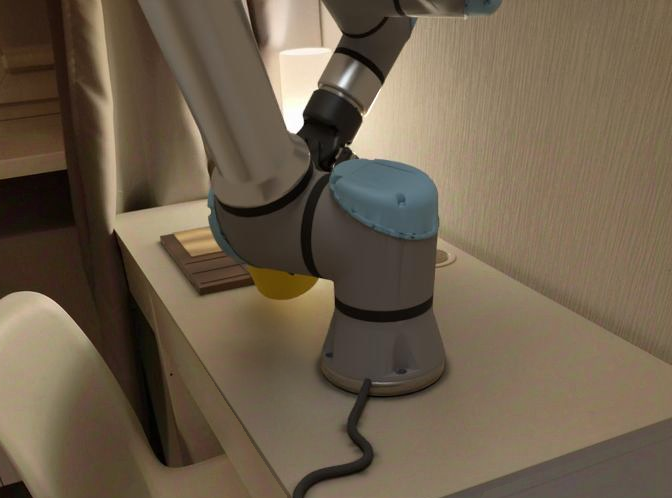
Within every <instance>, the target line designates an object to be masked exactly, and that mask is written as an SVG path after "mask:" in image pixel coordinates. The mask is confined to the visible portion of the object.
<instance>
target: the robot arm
mask: <svg viewBox="0 0 672 498" xmlns="http://www.w3.org/2000/svg"><path fill="white" fill-rule="evenodd" d="M320 1H321V3H322V4H323V5H324V7H325V8H326V10H327V12H328V13H329V14H330V15H329V16H331V18H332V20H333V21H334V22H335V24H336V26H337V28H338V29H339V31H340V32H341V34H342V35H341V37H340V39H339V41H338V43H337V45H336V47H335V48H334V51H333V53H332V54H331V56H330V58H329V60H328V62H327V64H326V66H325V67H324V70H323V71H322V73H321V75H320V76H319V79H318V80H317V84H316V86H317V89H315V90H313V92H312V93H311V96H310V97H309V100H308V101H307V103H306V105H305V107H304V109H303V111H302V120H303V125H302V126H301V127H300V129H299V130H298V131H296V133H294V132H291V131H290V130H289V129H288V127H287V125H286V122H285V119H284V116H283V113H282V111H281V108H280V104H279V102H278V99H277V96H276V94H275V90H274V88H273V85H272V83H271V82H272V81H271V79H270V77H269V73H268V71H267V68H266V65H265V63H264V59H263V57H262V54H261V51H260V48H259V46H258V43H257V40H256V37H255V34H254V30H253V29H252V25H251V22H250V19H249V16H248V14H247V11H246V9H245V5H244V3H243V0H137V2H138V5H139V6H140V8H141V11H142V13H143V15H144V17H145V19H146V22H147V23H148V25H149V27H150V30H151V31H152V34H153V36H154V38H155V40H156V42H157V44H158V47H159V49H160V50H161V53H162V55H163V58H164V59H165V61H166V64H167V65H168V68H169V70H170V72H171V74H172V76H173V78H174V81H175V83H176V84H177V87H178V89H179V91H180V93H181V95H182V97H183V100H184V101H185V104H186V105H187V108H188V110H189V112H190V114H191V116H192V118H193V120H194V122H195V123H194V124H195V125H196V127H197V129H198V131H199V134H200V135H201V137H202V140H203V142H204V144H205V147H206V148H207V150H208V152H209V154H210V156H211V158H212V159H211V160H213V161H212V162H213V163H214V165H215V166H214V168H213V170H212V174H211V177H210V187H209V190H208V193H207V203H206V204H207V205H206V207H207V208H209V209H210V214H209V215H208V216H207V220H208V226H210V229H211V232H212V235H213V237H214V239H215V241H216V243H217V244H218V246H219V247H220V248H221V250H222V251H223V252H224V253H225V254H226V255H228V256H229V257H230V258H232V259H234V260H236V261H238V262H242V263H245V264H248V265H249V266H253V267H255V268H260V269H263V268H266V269H272V270H277V271H283V272H287V273H289V274H290V275H292V276H294V274H299V275H305V276H311V277H316V278H319V279H321V280H327V281H331V282H333V300H334V307H333V313H332V315H331V319H330V321H329V326H328V328H327V332H326V335H325V338H324V341H323V346H322V349H321V353H320V354H321V355H320V356H321V370H322V373H323V375H324V376H325V378H326V379H327V380H328V381H329V382H330V383H331V384H333V385H335V386H336V387H338V388H340V389H342V390H346V391H347V392H351V393H354V394H358V395H357V397H356V400H355V402H354V404H353V407H352V409H351V410H350V412H349V415H348V416H347V417H348V418H347V421H346V422H347V423H346V425H347V426H346V428H347V431H348V435H349V436H350V437H351V439H352V440H353V442H355V443H356V444H357V445H358V446H359V447H360V448H361V449H362V451H363V455H362V456H361V457H360V458H359V459H356V460H354V461H351V462H346V463H343V464H336V465H332V466H331V465H330V466H326V467H323V468H319V469H316V470H313V471H311V472H309V473H307V474H306V475H305V476H303V477H302V478H301V480H300V481H299V482H298V483H297V484H296V486H295V487H294V489H293V492H292V498H303V497H304V493H305V491H306V490H307V489H308V487H309V486H310V485H312V484H313V483H314V482H316V481H319V480H321V479H325V478H328V477H329V478H330V477H334V476H339V475H345V474H350V473H353V472H356V471H360V470H361V469H364V468H365V467H366V466H368V465H369V464H370V462H371V461H372V460H373V457H374V447H373V446H372V444H371V443H370V442H369V441H368V440H367V439H366V438H365V437H364V436H363V435H362V434H361V433H360V432H359V430H358V428H357V421H358V419H359V416H360V414H361V412H362V410H363V408H364V406H365V403H366V400H367V397H368V396H373V397H392V396H400V395H405V394H410V393H415V392H417V391H420V390H423V389H425V388H427V387H429V386H431V385H432V384H434V383H436V381H437V380H438V379H440V377H442V375H443V373H444V370H445V360H446V350H445V349H446V348H445V345H444V343H443V338H442V336H441V332H440V328H439V326H438V325H439V324H438V321H437V319H436V314H435V311H434V294H435V293H434V292H435V280H436V279H435V278H436V265H437V249H438V237H439V229H440V225H441V223H440V221H441V220H440V215H439V190H438V186H437V184H436V183H435V182H434V179H432V178H431V177H430V175H429V174H427V173H426V172H425V171H423V170H421V169H420V168H418V167H416V166H413V165H410V164H407V163H404V162H401V161H397V160H391V159H385V158H373V159H368V158H360V157H359V155H357V154H356V153H355V152H354V150H352V149H351V148H350V146H352V145H353V144H354V142H355V139H357V136H358V134H359V132H360V131H361V129H362V127H363V125H364V117H367V116H368V114H369V113H370V112H371V109H372V107H373V105H374V103H375V101H376V99H377V98H378V96H379V94H380V92H381V90H382V88H383V86H384V85H385V83H386V79H388V76H389V75H390V72H391V71H392V69H393V68H394V66H395V63H396V61H397V60H398V58H399V56H400V54H401V52H402V51H403V49H404V47H405V45H406V43H407V42H408V41H409V40H410V38H411V36H412V34H413V30H414V28H415V26H416V24H417V21H418V19H419V18H437V19H440V18H441V19H442V18H443V19H446V18H447V19H462V20H467V19H468V18H488V17H490V16H492V15H495V13H496V12H498V10H499V8H500V7H501V5H502V3H503V1H504V0H320Z"/></svg>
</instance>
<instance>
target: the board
mask: <svg viewBox="0 0 672 498" xmlns="http://www.w3.org/2000/svg"><path fill="white" fill-rule="evenodd" d="M159 239H160V243H161V244H162V246H163V247H164V248H165V250H166V251H167V252H168V254H169V255H170V256H171V258H172V259H173V261H174V262H175V263H176V264H177V266H178V267H179V268H180V270H181V271H182V272H183V274H184V276H185V277H186V278H187V279H188V280H189V282H190V283H191V284H192V286H193V287H194V288H195V290H196V291H197V292H198V293H199V295H201V296H204V295H207V294H208V295H209V294H212V293H217V292H223V291H226V290H232V289H235V288H240V287H246V286H250V285H255V283H254V280H253V278H252V276H251V274H250V272H249V269H248V267H247V265H246V264H245V263H242V262H238V261H236V260H234V259H232V258H230V257H229V256H228V255H226V254H225V253H224V252H223V251H222V250H221V248H220V247H219V246H218V244H217V243H216V241H215V239H214V237H213V235H212V232H211V229H210V226H209V225H207V226H202V227H197V228H191V229H185V230H181V231H180V230H179V231H174V232H172V233H169V234H162V235H159Z"/></svg>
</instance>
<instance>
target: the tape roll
mask: <svg viewBox="0 0 672 498" xmlns="http://www.w3.org/2000/svg"><path fill="white" fill-rule="evenodd" d="M246 265H247V267H248V269H249V272H250V274H251V276H252V278H253V280H254V283H255V284H254V285H255V287H256V289H257V291H258V292H259V293H260V294H261V295H262V296H264V297H265V298H267V299H270V300H274V301H275V300H276V301H288V300H292V299H296V298H298V297H300V296H302V295H304V294H306V293H307V292H308V291H310V290H311V289H312V288H313V287H315V285H316V284H317V283H318V281H319V279H320V278H316V277H311V276H305V275H299V274H294V276H292V275H290V274H289V273H287V272H283V271H277V270H272V269H266V268H263V269H260V268H255V267H253V266H249V265H248V264H246Z"/></svg>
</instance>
